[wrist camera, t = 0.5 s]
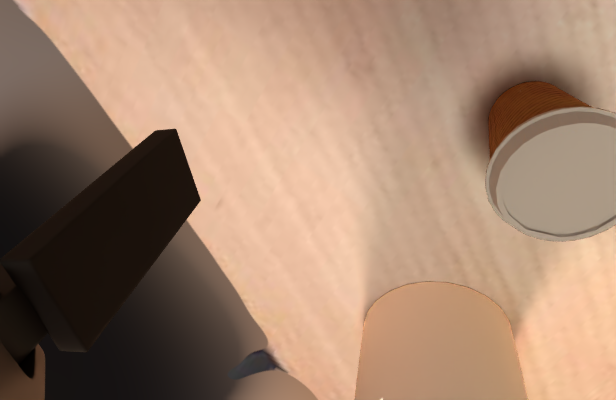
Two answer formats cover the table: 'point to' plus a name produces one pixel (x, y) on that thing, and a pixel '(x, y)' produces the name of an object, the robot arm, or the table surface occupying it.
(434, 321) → the cylinder
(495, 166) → the disposable coffee cup
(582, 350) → the table surface
